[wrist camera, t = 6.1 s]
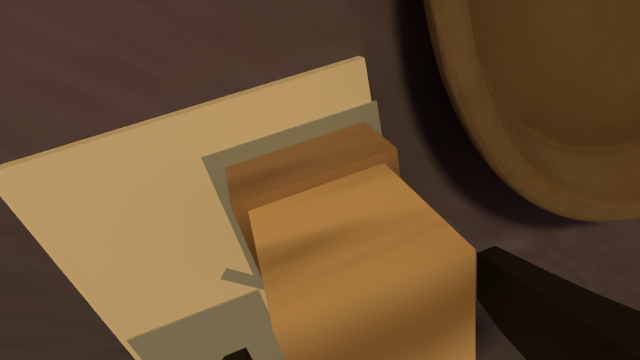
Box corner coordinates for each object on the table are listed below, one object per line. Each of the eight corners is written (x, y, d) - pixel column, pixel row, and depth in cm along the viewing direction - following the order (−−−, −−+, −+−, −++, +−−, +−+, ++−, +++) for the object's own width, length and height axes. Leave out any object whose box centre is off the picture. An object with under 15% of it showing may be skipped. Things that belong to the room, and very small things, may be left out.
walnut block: (382, 230, 18) (411, 269, 16) (269, 273, 17) (280, 321, 15) (364, 121, 15) (396, 147, 13) (225, 167, 14) (230, 205, 12)
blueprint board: (406, 330, 24) (411, 339, 23) (194, 420, 22) (193, 432, 21) (363, 54, 15) (370, 56, 14) (-9, 167, 13) (-19, 176, 12)
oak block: (399, 263, 15) (475, 369, 11) (287, 308, 15) (322, 438, 10) (384, 163, 13) (475, 249, 8) (248, 211, 12) (272, 331, 8)
